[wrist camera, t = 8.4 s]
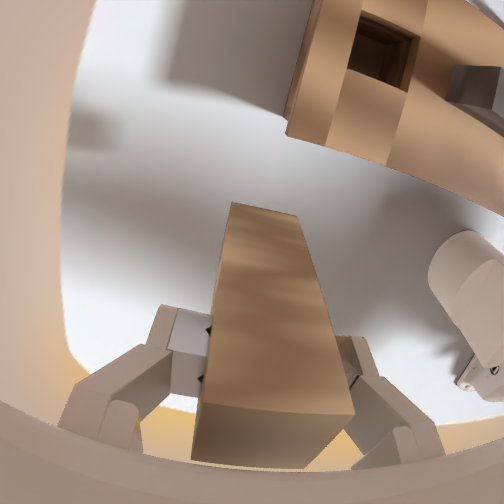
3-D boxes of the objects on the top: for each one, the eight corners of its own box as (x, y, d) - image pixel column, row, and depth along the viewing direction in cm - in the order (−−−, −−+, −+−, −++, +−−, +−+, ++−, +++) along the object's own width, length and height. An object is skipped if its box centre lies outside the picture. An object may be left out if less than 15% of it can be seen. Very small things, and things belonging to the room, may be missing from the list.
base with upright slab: (466, 299, 33) (512, 365, 22) (415, 293, 32) (461, 370, 22) (496, 238, 29) (557, 295, 18) (446, 223, 28) (514, 288, 17)
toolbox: (490, 195, 26) (537, 227, 19) (282, 116, 24) (295, 127, 17) (519, 99, 21) (571, 112, 14) (316, -11, 18) (341, -46, 11)
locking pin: (296, 216, 14) (355, 414, 5) (279, 270, 16) (303, 468, 7) (231, 201, 14) (203, 402, 5) (219, 259, 15) (190, 460, 6)
